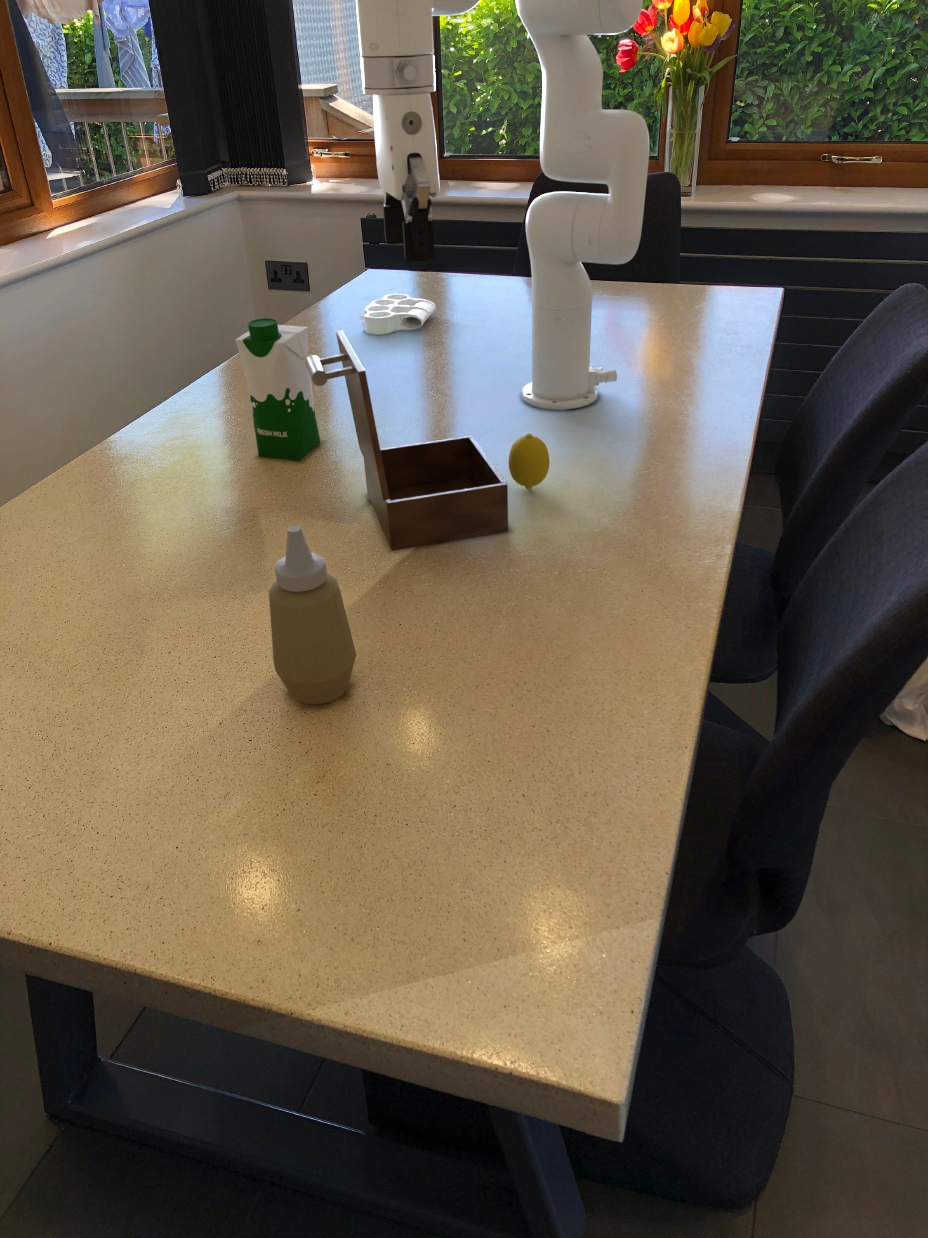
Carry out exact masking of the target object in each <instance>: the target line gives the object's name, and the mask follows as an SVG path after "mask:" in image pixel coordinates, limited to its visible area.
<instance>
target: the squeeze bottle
mask: <svg viewBox="0 0 928 1238" xmlns="http://www.w3.org/2000/svg"><path fill="white" fill-rule="evenodd" d="M285 545H286V546H285V556H283V557H281V558H280V559H279V560H277V562H276V563H275V565H274V572H275V578H276V581H274V582H273V583H272V584H271V586H270V588H269V590H268V601H269V602H268V604H269V615H270V631H271V646H272V647H271V648H272V662H273V667H274V671H275V673H276V675H277V676H278V678H279V679H280V680H281V681H282V683H283V685H284V686H285V688H286V689H287V691H288V692H289V694H290V695H291V697H293V699H294V700H295V701H298V702H300V703H303V704H305V705H321V704H326V703H331V702H332V701H335V700H336V699H339V698H341V697H342V695H343V694H345V693H346V692H347V690H348V688H349V684H350V681H351V676H352V673H353V669H354V666H355V661H356V658H357V651H356V648H355V647H356V646H355V644H354V641H353V636H352V632H351V628H350V625H349V621H348V617H347V612H346V608H345V604H344V601H343V600H344V599H343V596H342V593H341V592H342V591H341V589H340V585H339V582H338V579H337V578H336V577H334V576H333V575H332V574H330V573H329V572H328V570H327V563H326V559H325V558H324V557H323V556H322V555H320V554H319V553H315V552H312V551H311V549H310V547H309V544H308V542H307V540H306V537H305V535H304V532H303V530H302V528H301V526H299V525H291V526H289V527H288V528H287V533H286V544H285Z"/></svg>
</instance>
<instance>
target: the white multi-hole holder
mask: <svg viewBox="0 0 928 1238" xmlns="http://www.w3.org/2000/svg"><path fill="white" fill-rule="evenodd" d="M436 308H437V306H436V304H435V303H434V302H433V301H431V300H429V299H424V298H412V297H411V296H409V295H408V294H406V293H405V294H404V293H391V294H385V295H383V297H381V298H379V299H375V300H373V301H370V302H369V305H368V306H365V307H364V312H363V313H362V314H360V315H358V316H357V318H359V319H360V320H362V321H363V322H364V331H365V333H366V334H369V335H375V336H376V335H378V336H379V335H388V334H391V333H393V332H397V331H413V330H418V329H420V328H421V327H423V326H424V324H425V322H426V321H427V320H429V318H430V316H431V315H432V314H433V313H434V312H435V311H436Z"/></svg>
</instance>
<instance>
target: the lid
mask: <svg viewBox="0 0 928 1238" xmlns="http://www.w3.org/2000/svg"><path fill="white" fill-rule="evenodd" d="M335 335H336V340H337V345H338V350H339V354H335V355H330V356H325V357H321V358H320V357H319V356H318V355H315V354H310V355H308V357H307V359H306V361H305V364H306V367H307V369H308V372H309V374H310V379H311V382H312V383H313V384H314V385H315V386H317V387H323V386H324V385H326V384H327V382H328V380H331V379H335V378H340V377H344V380H345V384H346V389H347V394H348V398H349V404H350V408H351V414H352V418H353V423H354V428H355V433H356V438H357V443H358V447H359V450H360V452H361V455H362V457H363V460H364V459H365V461H366V463H367V466H368V468H369V470H370V472H371V474H372V477H373V479H374V481H375V483H376V485H377V488H378V490H379V492H380V494H381V496H382V499H383V500H388V499H390V498H389V493H388V488H387V482H386V477H385V472H384V467H383V461H382V456H381V451H380V449H381V447H380V440H379V436H378V435H379V434H378V430H377V426H376V420H375V414H374V409H373V404H372V398H371V394H370V388H369V383H368V379H367V378H368V377H367V372H366V369H365V367H364V366H363V365H362V363H361V361H360V359H359V357H358V355H357V354H356V352H355V351H354V349H353V347H352V345H351V343H350V341H349V340H348V338H347V336H346V334H345V333H344V331H343V329H337V330H335ZM336 363H341V365H342V368H337V369H332V370H328V371H326V369H325V368H324V366H326V365H332V364H336Z"/></svg>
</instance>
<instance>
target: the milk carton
mask: <svg viewBox="0 0 928 1238" xmlns="http://www.w3.org/2000/svg"><path fill="white" fill-rule="evenodd" d="M247 326H248V331H247V332H245V333H243V334H242V335H240V336H239V337H237V338H235V340H234V342H235V344H236V348H237V350H238V354H239V356H240V358H241V362H242V366H243V371H244V376H245V381H246V387H247V393H248V399H249V404H250V409H251V415H252V416H251V417H252V420H253V421H252V422H253V428H254V429H253V430H254V434H255V441H256V448H257V454H258V457H259V458H268V459H277V460H285V461H291V462H292V461H293V462H301V461H302V460H303V459H304V458H306V457H307V455H308V454H310V453H311V452H313V450H314V449H315V448H316V447H318V446H319V445H320V444H321V443H322V442H321V438H320V432H319V426H318V422H317V417H316V408H315V401H314V395H313V388H312V387H313V386H312V379H311V377H310V374H309V372H308V369H307V367H306V364H305V361H306V359H307V357H309V346H308V345H309V344H308V342H309V340H308V339H309V337H308V336H309V333H308V330H309V329H308V328H309V327H308V326H302V325H301V326H299V325H286V324H285V325H283V324H278V321H277V320H276V319H274V318H268V317H266V318H258V319H253V320H251V321H249V322H248V323H247Z"/></svg>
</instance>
